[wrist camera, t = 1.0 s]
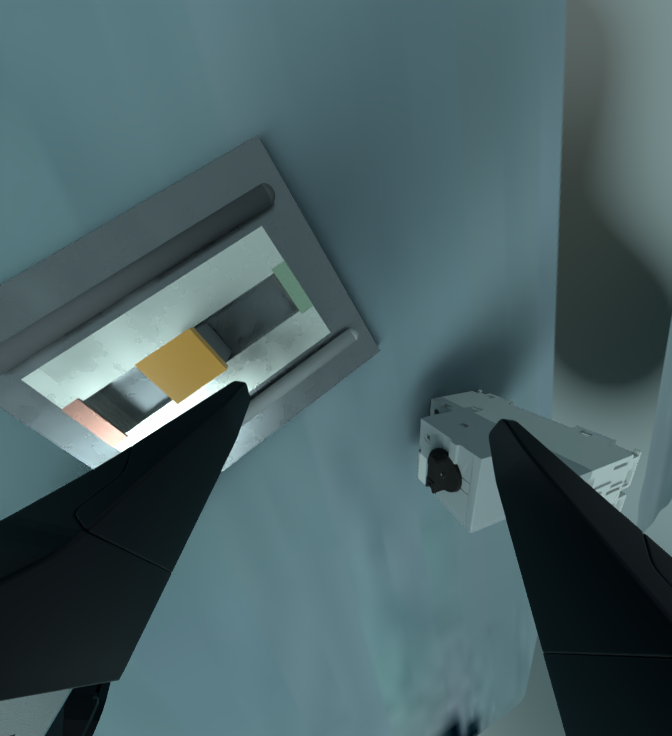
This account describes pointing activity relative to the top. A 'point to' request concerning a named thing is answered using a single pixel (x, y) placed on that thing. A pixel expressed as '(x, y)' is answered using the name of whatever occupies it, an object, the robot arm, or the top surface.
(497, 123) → the top surface
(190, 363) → the breaker lever
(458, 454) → the circuit breaker
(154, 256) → the gray flat tray
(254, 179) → the breaker panel
